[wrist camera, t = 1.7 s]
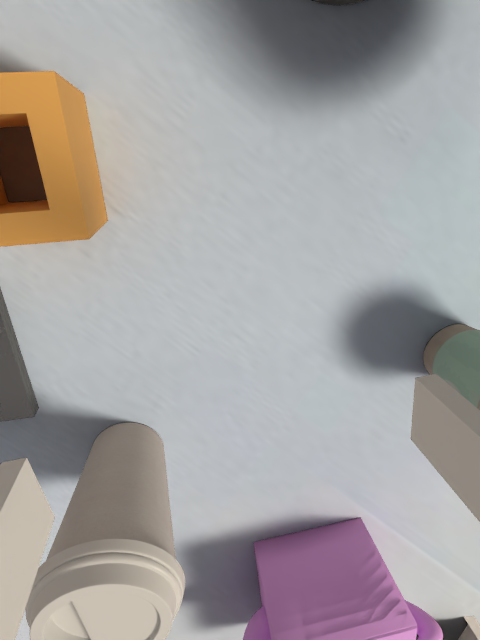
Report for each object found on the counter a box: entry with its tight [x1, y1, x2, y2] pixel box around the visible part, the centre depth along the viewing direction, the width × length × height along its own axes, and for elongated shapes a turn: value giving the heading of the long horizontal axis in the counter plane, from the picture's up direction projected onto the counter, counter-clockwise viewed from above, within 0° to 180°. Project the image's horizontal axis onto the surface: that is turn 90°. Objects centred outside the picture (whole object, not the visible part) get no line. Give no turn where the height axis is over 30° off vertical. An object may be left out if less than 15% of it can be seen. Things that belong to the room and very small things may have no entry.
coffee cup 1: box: [25, 423, 185, 640], centre depth 29 cm, size 10×10×15 cm
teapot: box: [243, 517, 443, 640], centre depth 41 cm, size 15×25×14 cm, turn 96°
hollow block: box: [0, 71, 108, 247], centre depth 22 cm, size 8×8×7 cm
